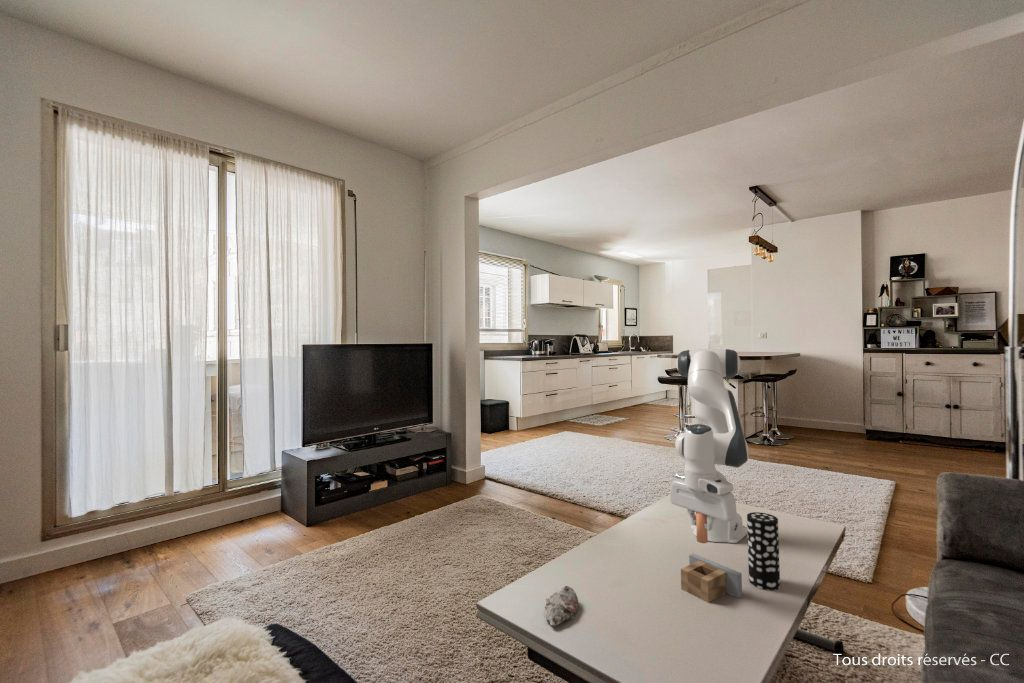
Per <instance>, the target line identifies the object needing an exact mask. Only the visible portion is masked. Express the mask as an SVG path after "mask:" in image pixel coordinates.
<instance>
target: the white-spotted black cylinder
mask: <svg viewBox="0 0 1024 683" xmlns="http://www.w3.org/2000/svg"><path fill="white" fill-rule="evenodd" d="M746 520H747V521H746V524H747V525H746V527H747V531H748V534H747V555H748V556H747V557H748V558H747V560H748V561H747V562H748V582H749V583H750V584H751V585H752V586H753V587H755V588H758V589H761V590H764V591H765V590H766V591H776V590H780V588H781V575H780V574H781V571H780V568H781V567H780V541H779V540H780V539H779V518H778V517H777V516H775V515H773V514H770V513H765V512H755V511H754V512H749V513H747V514H746Z"/></svg>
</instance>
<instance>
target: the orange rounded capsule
mask: <svg viewBox="0 0 1024 683" xmlns="http://www.w3.org/2000/svg"><path fill="white" fill-rule="evenodd" d="M704 523H707V515H705V514H702V513H699V512H696V530H697V536H696V541H697V543H701V544H708V542H709V541H708V534H707V530H706V529H705V528H704V527H705V526H704Z"/></svg>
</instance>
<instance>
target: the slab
mask: <svg viewBox="0 0 1024 683" xmlns="http://www.w3.org/2000/svg"><path fill="white" fill-rule="evenodd" d="M688 558H689V565H691V564H693V563H695V562H697V561H701V562H703V563H706V564H708V565H711V566H713V567H715V568H718V569H720V570H722V571H725V572H726V579H727V593H726V594H729V595H731V596H734V597H736V598H737V599H739V598H741V597H743V579H742V577H743V576H742V572H740V571H737V570H735V569H732V568H729V567H728V566H725V565H722V564H720V563H718V562H715V561H713V560H710V559H708V558H706V557H702V556H701V555H699V554H696V553H694V552H692V553H691V554H689V555H688Z"/></svg>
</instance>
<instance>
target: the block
mask: <svg viewBox="0 0 1024 683" xmlns="http://www.w3.org/2000/svg"><path fill="white" fill-rule="evenodd" d="M680 588H681V591H684V592H686V593H688V594H691V595H693V596H694V597H697V599H698V598H699V599H700V600H702V601H705V602H707V603H711V602H713V601H714V600H716V599H718V598H720V597H722V596H724V595H725V594H728V593H727V579H726V572H725V571H722V570H720V569H718V568H715V567H713V566H711V565H708V564H706V563H703V562H701V561H697V562H695V563H693V564H691V565H687V566H685V567H682V568H680Z"/></svg>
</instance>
